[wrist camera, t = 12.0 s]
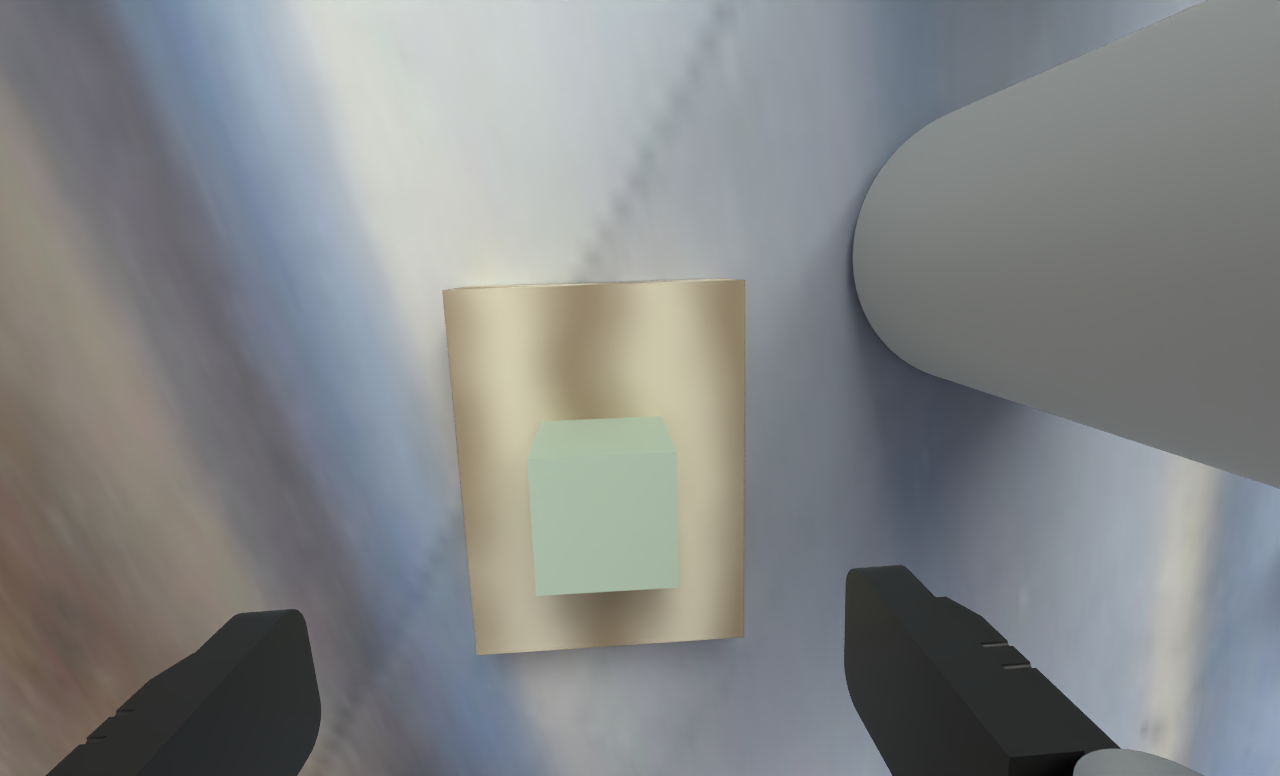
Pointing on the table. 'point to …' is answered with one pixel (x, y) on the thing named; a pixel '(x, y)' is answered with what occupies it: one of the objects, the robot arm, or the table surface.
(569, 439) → the cube
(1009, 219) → the cylinder vase
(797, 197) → the table surface
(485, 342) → the base block
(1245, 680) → the table surface
